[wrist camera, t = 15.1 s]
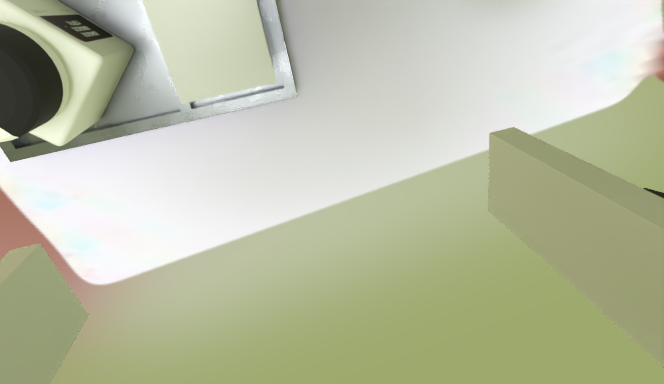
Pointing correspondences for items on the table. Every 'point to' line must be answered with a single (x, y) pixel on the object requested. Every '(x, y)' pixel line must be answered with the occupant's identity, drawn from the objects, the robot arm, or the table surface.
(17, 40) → the container
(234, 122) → the table surface
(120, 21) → the rack tray
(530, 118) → the table surface
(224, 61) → the filler block
